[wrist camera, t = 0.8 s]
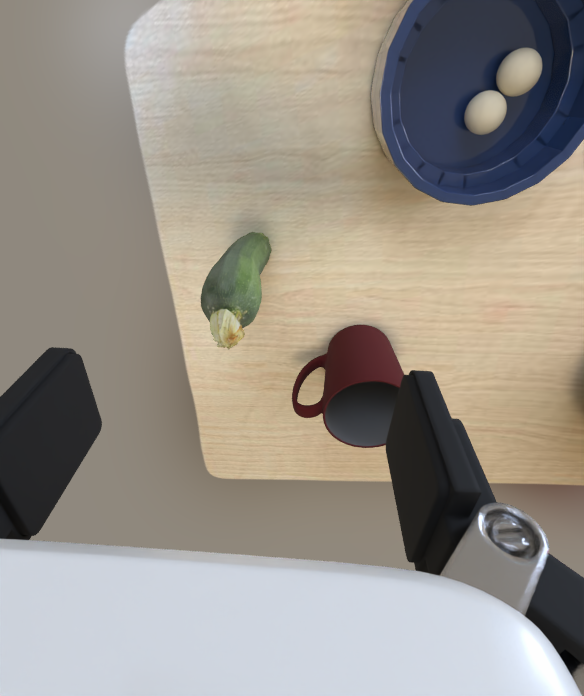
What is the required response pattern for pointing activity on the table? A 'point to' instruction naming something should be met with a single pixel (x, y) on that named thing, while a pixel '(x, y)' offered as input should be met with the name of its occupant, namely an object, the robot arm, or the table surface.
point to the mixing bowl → (468, 81)
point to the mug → (355, 387)
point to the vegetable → (235, 288)
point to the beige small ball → (519, 72)
